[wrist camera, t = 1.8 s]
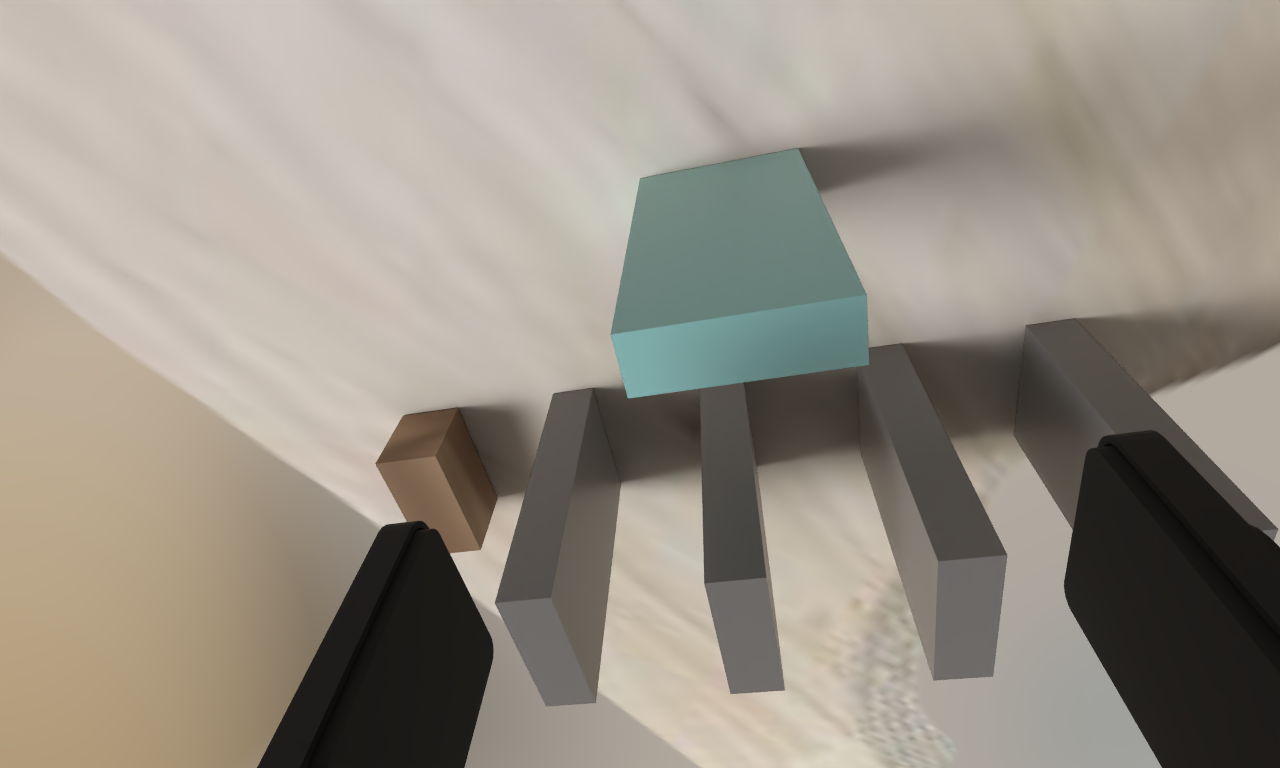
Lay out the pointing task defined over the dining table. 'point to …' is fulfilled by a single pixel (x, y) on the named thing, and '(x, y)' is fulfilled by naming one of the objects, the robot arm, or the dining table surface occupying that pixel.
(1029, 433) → the domino
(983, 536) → the domino
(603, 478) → the domino
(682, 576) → the dining table surface
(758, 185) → the teal domino
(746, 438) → the domino
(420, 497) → the end block
